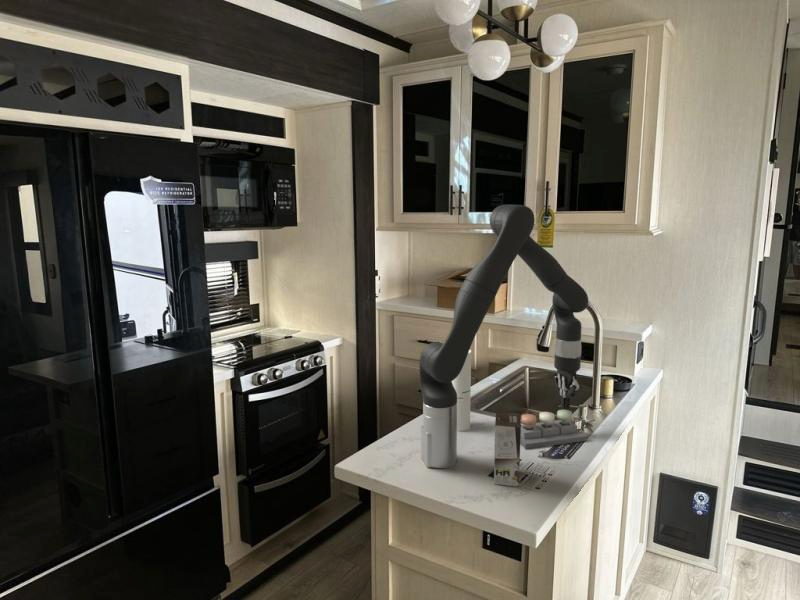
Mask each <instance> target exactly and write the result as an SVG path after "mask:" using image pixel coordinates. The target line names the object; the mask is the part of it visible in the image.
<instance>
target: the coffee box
mask: <svg viewBox="0 0 800 600" xmlns="http://www.w3.org/2000/svg"><path fill="white" fill-rule="evenodd" d="M521 425H522V423H521V414H520V413H516V412H496V413H495V427H494V455H493V457H494V463H493V464H494V465H493V468H494V469H493V470H494V471H493V474H494V475H493V484H494V485H501V486H510V487H519V484H520V483H519V481H520V479H519V478H520V465H521V464H520V463H521V462H520V461H521V460H520V458H521V445H520V439H521Z"/></svg>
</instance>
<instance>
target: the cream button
mask: <svg viewBox="0 0 800 600" xmlns="http://www.w3.org/2000/svg"><path fill="white" fill-rule="evenodd" d="M555 416H556V415H555V414H554V413H553V412H550V411H541V412H539V416H538V417H539V419H538V420H539V421H540V422H543V423H544V426H545V427H549V426H550V423H553V422H554V421H555Z"/></svg>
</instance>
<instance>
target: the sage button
mask: <svg viewBox="0 0 800 600" xmlns="http://www.w3.org/2000/svg"><path fill="white" fill-rule="evenodd" d="M556 418H557V420H561V423H562V424H567V422H568V421H572V420H573V412H572V411H571V410H568V409H558V410H557V412H556Z"/></svg>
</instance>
